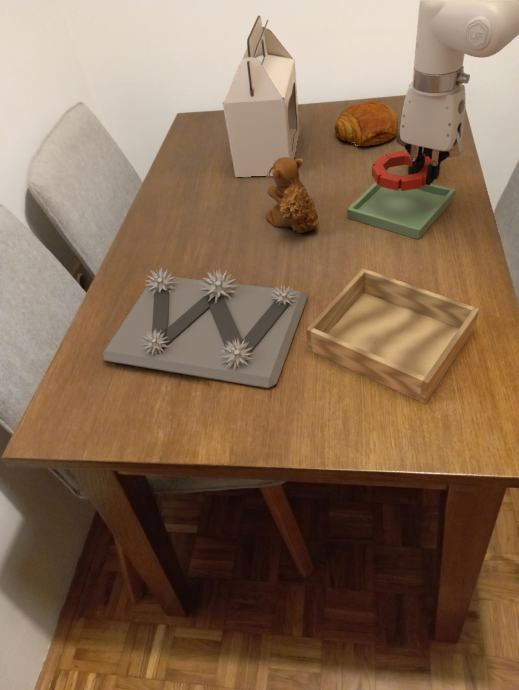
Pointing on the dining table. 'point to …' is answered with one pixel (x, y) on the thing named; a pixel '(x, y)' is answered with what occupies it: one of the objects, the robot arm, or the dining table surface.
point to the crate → (393, 332)
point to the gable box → (262, 105)
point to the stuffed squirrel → (290, 198)
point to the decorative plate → (209, 329)
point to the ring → (395, 180)
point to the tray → (401, 208)
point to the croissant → (367, 123)
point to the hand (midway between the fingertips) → (424, 179)
